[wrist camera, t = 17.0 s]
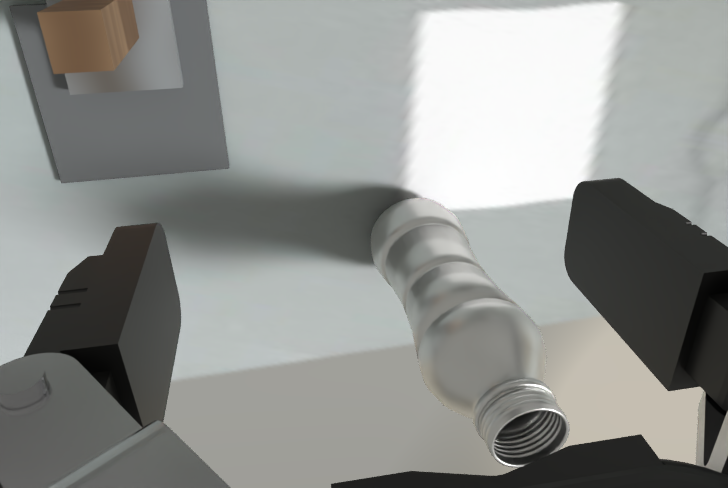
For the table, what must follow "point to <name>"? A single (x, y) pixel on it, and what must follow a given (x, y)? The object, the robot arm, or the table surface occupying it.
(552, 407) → the plastic bottle
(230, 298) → the table surface
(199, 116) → the tool mat
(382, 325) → the table surface
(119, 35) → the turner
